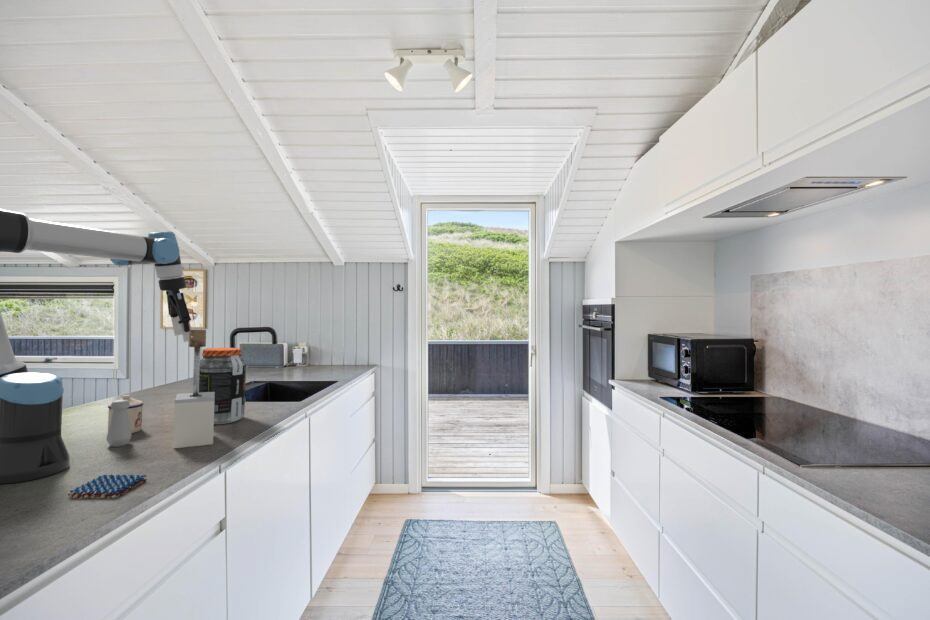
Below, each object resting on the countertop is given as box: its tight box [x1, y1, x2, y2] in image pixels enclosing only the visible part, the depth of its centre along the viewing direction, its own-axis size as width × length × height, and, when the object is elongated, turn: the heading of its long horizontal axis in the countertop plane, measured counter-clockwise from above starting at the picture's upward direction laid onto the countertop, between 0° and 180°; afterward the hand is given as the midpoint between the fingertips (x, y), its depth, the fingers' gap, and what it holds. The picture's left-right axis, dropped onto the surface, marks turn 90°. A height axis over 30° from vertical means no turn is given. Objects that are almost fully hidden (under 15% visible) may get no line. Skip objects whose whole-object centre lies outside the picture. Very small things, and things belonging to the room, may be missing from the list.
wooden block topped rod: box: [188, 329, 207, 397], centre depth 134 cm, size 7×7×24 cm
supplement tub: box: [199, 347, 247, 425], centre depth 159 cm, size 16×16×26 cm
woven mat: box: [67, 473, 148, 500], centre depth 99 cm, size 10×11×2 cm
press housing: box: [172, 392, 215, 449], centre depth 134 cm, size 10×10×14 cm
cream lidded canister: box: [107, 394, 144, 434], centre depth 143 cm, size 12×9×12 cm
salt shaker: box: [106, 399, 132, 448], centre depth 129 cm, size 6×6×13 cm
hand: (183, 337), depth 154 cm, fingers open, 13 cm apart
